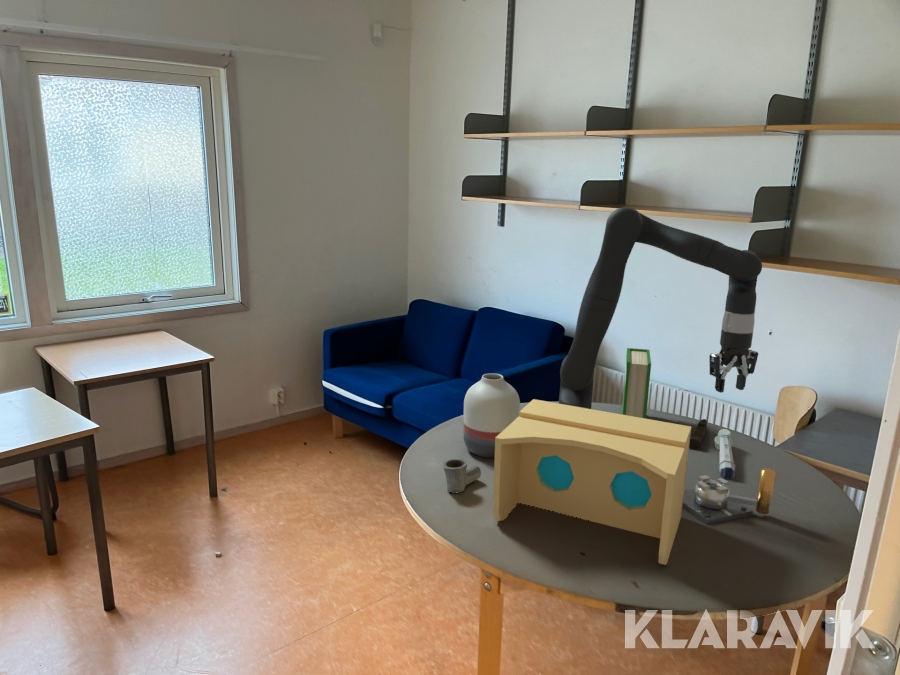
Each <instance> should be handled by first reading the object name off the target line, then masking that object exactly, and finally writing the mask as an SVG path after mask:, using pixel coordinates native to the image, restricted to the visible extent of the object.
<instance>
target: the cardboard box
mask: <svg viewBox="0 0 900 675" xmlns="http://www.w3.org/2000/svg"><path fill="white" fill-rule="evenodd" d="M691 436H692V426H690V425H684V424H677V423H672V422H667V421H660V420H656V419H655V420H654V419H650V418H646V419H645V418H639V417H633V416H627V415H622V413H615V412H611V411H610V412H609V411H604V410H600V409H599V410H598V409H592V408H591V409H587V408H581V407H576V406H570V405H564V404H559V402H557V403H556V402H553V401H552V402H551V401H546V400H542V399H541V400H540V399H536V398H535V399H534V398H533V399H532V400H531V401H530V402H528V403H527V404H526V405H525V406H524V407H522V409H520V411H519V417H518V418H516V419H515V420H514V421H513V422H512V423H511V424H510V425H509V426H508V427H507V428H505V429H504V430H503V431H502V432H501V433H500V434H499V435H498V436H497V437H496V438H495V458H494V466H493V467H494V469H493V470H494V471H493V495H492V496H493V497H492V498H493V500H492V501H493V502H492V513H493V514H492V515H493V517H494V521H495V520H496V521H499V522H502V521H504V519H505V520H506V518H507V517H508V516H509V515H510V514H509V513H511V512H512V511H513V510H514V509H515V508H516V506H517V505H518V504H520V503H523V504H522V505H524V504H527V505H526V506H528V505H530V506H529V507H532V506H535V507H534V508H536V507H539V508H538V509H540V508H543V509H542V510H544V509H547V510H546V511H548V510H550V512H552V511H555V512H554V513H556V512H558V513H557V514H560V513H562V514H561V515H564V514H566V515H565V516H568V515H569V516H568V517H572V516H573V518H576V517H577V519H580V518H581V520H583V521H584V520H585V521H588V520H589V522H592V523H597V524H601V525H605V526H608V527H612V528H616V529H620V530H624V531H629V532H633V533H637V534H640V535H645V536H649V537H652V538H657V539H659V548H658V549H659V550H658V564H660V565H664V566H666V565H667V564H668V561H669V557H670V553H671V552H672V548H673V545H674V541H675V539H676V535H677V533H678V528H679V524H680V521H681V519H682V511H683V506H682V505H683V496H684V491H685V487H686V486H685V485H686V478H687V477H686V476H687V469H688V459H689V451H690V449H689V443H690V438H691ZM517 503H518V504H517ZM516 504H517V505H516ZM513 508H514V509H513ZM512 509H513V510H512ZM511 510H512V511H511ZM508 514H509V515H508Z"/></svg>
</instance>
